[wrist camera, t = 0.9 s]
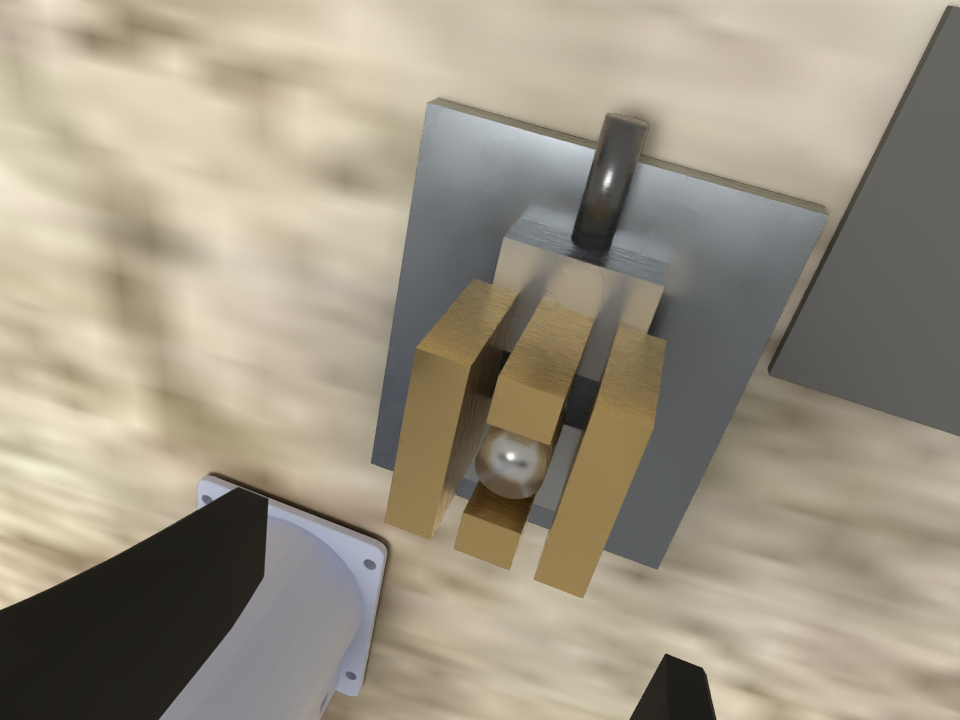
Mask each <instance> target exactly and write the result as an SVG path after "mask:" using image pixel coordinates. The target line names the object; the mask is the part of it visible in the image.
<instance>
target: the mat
mask: <svg viewBox="0 0 960 720" xmlns="http://www.w3.org/2000/svg"><path fill="white" fill-rule="evenodd" d="M768 371H769V375H770V376H773V377H776V378H779V379H782V380H786V381H789V382H792V383H795V384H798V385H801V386H804V387H807V388H811V389H814V390H817V391H820V392H823V393H826V394H829V395H832V396H836V397H839V398H842V399H845V400H848V401H851V402H854V403H857V404H860V405H864V406H867V407H870V408H873V409H876V410H879V411H882V412H885V413H889V414H892V415H895V416H898V417H901V418H904V419H907V420H910V421H914V422H917V423H920V424H923V425H926V426H929V427H932V428H935V429H939V430H942V431H945V432H948V433H951V434H954V435H957V436H960V8H958V7H953V6H947V8H946V10H945V12H944V14H943V16H942V18H941V20H940V23H939V25H938V27H937V29H936V31H935V33H934V35H933V37H932V39H931V41H930V43H929V45H928V47H927V49H926V51H925V53H924V55H923V57H922V59H921V61H920V63H919V65H918V67H917V69H916V71H915V73H914V75H913V77H912V79H911V81H910V83H909V85H908V87H907V89H906V91H905V93H904V95H903V97H902V99H901V101H900V103H899V105H898V107H897V109H896V111H895V113H894V115H893V117H892V119H891V121H890V123H889V125H888V127H887V129H886V131H885V133H884V135H883V137H882V140H881V142H880V144H879V146H878V148H877V150H876V152H875V154H874V156H873V158H872V160H871V162H870V164H869V166H868V168H867V170H866V172H865V174H864V176H863V178H862V180H861V182H860V184H859V186H858V188H857V190H856V192H855V194H854V196H853V198H852V200H851V202H850V204H849V206H848V208H847V210H846V212H845V214H844V216H843V218H842V220H841V222H840V224H839V226H838V228H837V230H836V232H835V234H834V236H833V238H832V240H831V242H830V244H829V246H828V248H827V250H826V252H825V254H824V257H823V259H822V261H821V263H820V265H819V267H818V269H817V271H816V273H815V275H814V277H813V279H812V281H811V283H810V285H809V287H808V289H807V291H806V293H805V295H804V297H803V299H802V301H801V303H800V305H799V307H798V309H797V311H796V313H795V315H794V317H793V319H792V321H791V323H790V325H789V327H788V329H787V331H786V333H785V335H784V337H783V339H782V341H781V343H780V345H779V347H778V349H777V351H776V353H775V355H774V357H773V359H772V361H771V363H770V365H769V367H768Z"/></svg>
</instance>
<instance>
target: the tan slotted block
mask: <svg viewBox="0 0 960 720" xmlns="http://www.w3.org/2000/svg"><path fill="white" fill-rule="evenodd" d="M518 294H519V293H517V292H514V291H511V290H508V289H504V288H501V287H498V286H495V285H492V284H489V283H486V282H483V281H479V280H476V279H473V280H472V282H471V283H470V284H469V285H468V286H467V288H466V289H465V290H464V291H463V292H462V294H461V295H460V296H459V297H458V298H457V299H456V301H455V302H454V303H453V304H452V305H451V307H450V308H449V309H448V310H447V311H446V313H445V314H444V315H443V316H442V317H441V318H440V320H439V321H438V322H437V323H436V324H435V326H434V327H433V328H432V329H431V330H430V332H429V333H428V334H427V335H426V336H425V338H424V339H423V340H422V341H421V342H420V343H419V345H418V346H417V347H416V349H415V355H414V360H413V366H412V372H411V377H410V383H409V388H408V394H407V400H406V405H405V411H404V416H403V422H402V428H401V433H400V439H399V444H398V450H397V456H396V461H395V467H394V472H393V478H392V484H391V489H390V495H389V500H388V506H387V512H386V517H385V523H388V524H391V525H393V526H396V527H398V528H401V529H404V530H406V531H409V532H411V533H414V534H417V535H419V536H422V537H424V538H427V539H430V540H431V538H432V536H433V534H434V532H435V530H436V529H437V527H438V525H439V523H440V521H441V519H442V517H443V515H444V513H445V511H446V509H447V507H448V506H449V504H450V502H451V500H452V498H453V496H454V494H455V492H456V490H457V488H458V486H459V485H460V483H461V481H462V479H463V477H464V475H465V473H466V471H467V469H468V467H469V465H470V464H471V462H472V460H473V458H474V456H475V454H476V452H477V450H478V448H479V446H480V442H481V438H482V434H483V430H484V426H485V423H488V424H490V425H493V426H496V427H499V428H502V429H505V430H507V431H510V432H513V433H516V434H519V435H522V436H524V437H527V438H530V439H533V440H536V441H539V442H541V443H544V444H547V445H550V443H551V441H552V438H553V435H554V433H555V430H556V427H557V425H558V422H559V419H560V416H561V414H562V411H563V408H564V406H565V403H566V400H567V398H568V395H569V392H570V390H571V387H572V384H573V382H574V379H575V376H576V373H577V371H578V368H579V365H580V363H581V360H582V357H583V354H584V351H585V348H586V345H587V342H588V339H589V336H590V333H591V330H592V327H593V324H594V321H595V317H592V316H589V315H586V314H583V313H579V312H576V311H573V310H570V309H567V308H564V307H561V306H558V305H554V304H551V303H548V302H545V301H542V300H541V302H540V304H539V306H538V307H537V309H536V311H535V313H534V314H533V316H532V318H531V320H530V321H529V323H528V325H527V327H526V328H525V330H524V332H523V334H522V335H521V337H520V339H519V341H518V342H517V344H516V346H515V348H514V349H513V351H512V353H511V355H510V356H509V358H508V360H507V362H506V363H505V365H504V367H503V369H502V370H501V372H500V374H499V376H498V372H499V368H500V364H501V360H502V356H503V352H504V348H505V345H506V341H507V337H508V333H509V329H510V325H511V321H512V317H513V313H514V309H515V306H516V302H517V298H518ZM666 343H667V340H664V339H661V338H658V337H655V336H651V335H648V334H645V333H642V332H639V331H636V330H633V329H630V328H626V327H623V326H620V325H619V327H618V329H617V332H616V335H615V338H614V341H613V344H612V347H611V350H610V352H609V355H608V358H607V361H606V364H605V367H604V370H603V372H602V375H601V378H600V381H599V384H598V387H597V390H596V392H595V395H594V398H593V401H592V404H591V407H590V410H589V412H588V415H587V418H586V421H585V424H584V427H583V430H582V433H581V435H580V438H579V441H578V444H577V447H576V450H575V453H574V455H573V458H572V461H571V464H570V467H569V470H568V473H567V475H566V478H565V482H564V485H563V488H562V491H561V494H560V497H559V501H558V504H557V507H556V510H555V513H554V516H553V520H552V523H551V526H550V529H549V532H548V535H547V539H546V542H545V545H544V548H543V551H542V554H541V558H540V561H539V564H538V567H537V570H536V574H535V577H534V580H536V581H539V582H541V583H544V584H547V585H549V586H552V587H554V588H557V589H560V590H562V591H565V592H567V593H570V594H573V595H575V596H578V597H580V598H583V597H584V595H585V592H586V590H587V587H588V585H589V583H590V580H591V578H592V575H593V573H594V571H595V568H596V566H597V563H598V561H599V559H600V556H601V554H602V551H603V549H604V547H605V544H606V542H607V539H608V537H609V535H610V532H611V530H612V527H613V525H614V522H615V520H616V518H617V515H618V513H619V510H620V508H621V506H622V503H623V501H624V498H625V496H626V494H627V491H628V489H629V486H630V484H631V482H632V479H633V477H634V474H635V472H636V470H637V467H638V465H639V462H640V460H641V458H642V455H643V453H644V450H645V448H646V446H647V443H648V441H649V438H650V436H651V434H652V431H653V429H654V422H655V415H656V409H657V402H658V396H659V389H660V383H661V376H662V369H663V363H664V356H665V350H666ZM497 376H498V379H497ZM496 380H497V383H496ZM495 384H496V387H495ZM494 387H495V391H494ZM493 391H494V395H493ZM492 395H493V399H492ZM491 399H492V403H491ZM490 403H491V407H490ZM489 407H490V410H489ZM488 411H489V414H488ZM487 415H488V418H487ZM486 419H487V422H486ZM537 492H538V491H537ZM537 492H536V493H535V494H533V495H531V496H529V497H526V498H522V499H510V498H505V497H502V496H500V495H497V494H495V493H494V492H492V491H490V490H489V489H488V488H487V487H486V486H485V485H484V484H483V483H482V482H481V481H480V479H479V481H478V483H477V485H476V487H475V489H474V491H473V494H472V496H471V498H470V500H469V502H468V504H467V506H466V508H465V510H464V512H463V515H462V519H461V523H460V527H459V531H458V535H457V539H456V543H455V547H454V549H456V550H458V551H461V552H463V553H466V554H469V555H471V556H474V557H476V558H479V559H482V560H484V561H487V562H489V563H492V564H495V565H497V566H500V567H502V568H505V569H508V570H510V567H511V564H512V562H513V559H514V556H515V553H516V551H517V548H518V545H519V542H520V539H521V537H522V534H523V531H524V528H525V526H526V523H527V520H528V517H529V515H530V512H531V509H532V506H533V504H534V501H535V498H536V495H537Z"/></svg>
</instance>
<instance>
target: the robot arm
mask: <svg viewBox="0 0 960 720" xmlns="http://www.w3.org/2000/svg"><path fill="white" fill-rule="evenodd" d="M197 497H198V510H197V511H195V512H193V513H191V514H190V515H188V516H186V517H184V518H183V519H181V520H179V521H178V522H176V523H174V524H172V525H171V526H169V527H167V528H165V529H164V530H162V531H160V532H158V533H156V534H155V535H153V536H151V537H149V538H147V539H145V540H144V541H142V542H140V543H138V544H136V545H134V546H133V547H131V548H129V549H127V550H125V551H123V552H122V553H120V554H118V555H116V556H114V557H112V558H110V559H108V560H107V561H104V562H102V563H100V564H98V565H96V566H94V567H92V568H90V569H88V570H86V571H84V572H82V573H80V574H78V575H76V576H74V577H72V578H70V579H68V580H66V581H64V582H62V583H60V584H58V585H56V586H54V587H52V588H50V589H47V590H45V591H43V592H41V593H39V594H36V595H34V596H32V597H30V598H28V599H25V600H23V601H21V602H18V603H16V604H14V605H11V606H9V607H7V608H4V609H2V610H0V720H320V718H321V717H322V715H323V713H324V711H325V709H326V707H327V706H328V704H329V702H330V700H331V698H332V696H333V695H334V693H335V691H338V692H340V693H343V694H345V695H347V696H351V697H355V696H357V695H358V694H359V693H360V691H361V689H362V686H363V681H364V676H365V670H366V665H367V660H368V654H369V649H370V644H371V638H372V633H373V628H374V622H375V617H376V612H377V606H378V601H379V596H380V590H381V585H382V580H383V574H384V569H385V564H386V558H387V549H386V547H385V545H384V544H383V543H382V542H380V541H378V540H376V539H373V538H371V537H368V536H366V535H363V534H361V533H358V532H355V531H353V530H350V529H348V528H345V527H343V526H340V525H337V524H335V523H332V522H330V521H327V520H325V519H322V518H319V517H317V516H314V515H312V514H309V513H307V512H304V511H301V510H299V509H296V508H294V507H291V506H289V505H286V504H284V503H281V502H278V501H276V500H273V499H271V498H268V497H266V496H263V495H260V494H258V493H255V492H253V491H250V490H248V489H245V488H242V487H240V486H237V485H235V484H232V483H230V482H227V481H224V480H222V479H219V478H217V477H214V476H210V475H208V476H205V477H204V478H202V479H201V480H200V481H199V482H198V485H197ZM371 560H372V561H373V562H372V561H371ZM630 720H716V716H715V711H714V707H713V703H712V698H711V694H710V689H709V685H708V680H707V675H706V673H705V671H704V670H703V668H701V667H699V666H696V665H694V664H691V663H689V662H686V661H683V660H681V659H678V658H676V657H673V656H671V655H668V654H665V655H664V657H663V659H662V661H661V662H660V664H659V666H658V668H657V670H656V672H655V674H654V675H653V677H652V679H651V681H650V683H649V685H648V686H647V688H646V690H645V692H644V694H643V696H642V698H641V699H640V701H639V703H638V705H637V707H636V709H635V710H634V712H633V714H632V716H631V718H630Z"/></svg>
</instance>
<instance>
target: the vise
mask: <svg viewBox="0 0 960 720" xmlns="http://www.w3.org/2000/svg"><path fill="white" fill-rule="evenodd" d="M648 129H649V124H648V123H646V122H644V121H642V120H640V119H637V118H634V117H630V116H626V115H622V114H615V113H608V114H606V116H605V120H604V123H603V127H602V130H601V134H600V137H599V141H598V143H596V142H593V141H589V140H585V139H582V138H578V137H575V136H571V135H568V134H564V133H560V132H557V131H553V130H550V129H546V128H543V127H539V126H535V125H532V124H528V123H525V122H521V121H517V120H514V119H510V118H507V117H503V116H500V115H496V114H492V113H489V112H485V111H482V110H478V109H475V108H471V107H467V106H464V105H460V104H457V103H453V102H450V101H446V100H442V99H439V98H437V99H435V100H432V101H430V102H427V106H426V112H425V119H424V125H423V131H422V138H421V144H420V151H419V157H418V164H417V170H416V177H415V183H414V189H413V196H412V202H411V209H410V215H409V222H408V228H407V235H406V241H405V247H404V254H403V260H402V267H401V273H400V280H399V286H398V293H397V299H396V305H395V312H394V318H393V325H392V331H391V338H390V344H389V351H388V357H387V363H386V370H385V376H384V383H383V389H382V396H381V402H380V409H379V415H378V422H377V428H376V434H375V441H374V447H373V454H372V460H371V463H372V464H375V465H377V466H380V467H383V468H385V469H388V470H391V471H393V472H394V467H395V461H396V456H397V450H398V444H399V439H400V433H401V428H402V422H403V416H404V411H405V405H406V400H407V394H408V388H409V383H410V377H411V372H412V366H413V360H414V355H415V349H416V347H417V346H418V345H419V343H420V342H421V341H422V340H423V339H424V338H425V336H426V335H427V334H428V333H429V332H430V330H431V329H432V328H433V327H434V326H435V324H436V323H437V322H438V321H439V320H440V318H441V317H442V316H443V315H444V314H445V313H446V311H447V310H448V309H449V308H450V307H451V305H452V304H453V303H454V302H455V301H456V299H457V298H458V297H459V296H460V295H461V294H462V292H463V291H464V290H465V289H466V288H467V286H468V285H469V284H470V283H471V282H472V280H473V279H476V280H479V281H483V282H486V283H489V284H492V285H495V286H498V287H501V288H504V289H508V290H511V291H514V292H517V293H519V294H518V298H517V302H516V306H515V309H514V313H513V317H512V321H511V325H510V329H509V333H508V337H507V341H506V345H505V348H504V352H503V356H502V360H501V364H500V368H499V372H498V376H499V374H500V372H501V370H502V369H503V367H504V365H505V363H506V362H507V360H508V358H509V356H510V355H511V353H512V351H513V349H514V348H515V346H516V344H517V342H518V341H519V339H520V337H521V335H522V334H523V332H524V330H525V328H526V327H527V325H528V323H529V321H530V320H531V318H532V316H533V314H534V313H535V311H536V309H537V307H538V306H539V304H540V302H541V300H542V301H545V302H548V303H551V304H554V305H558V306H561V307H564V308H567V309H570V310H573V311H576V312H579V313H583V314H586V315H589V316H592V317H595V321H594V324H593V327H592V330H591V333H590V336H589V339H588V342H587V345H586V348H585V351H584V354H583V357H582V360H581V363H580V365H579V368H578V371H577V373H576V376H575V379H574V382H573V384H572V387H571V390H570V392H569V395H568V398H567V400H566V403H565V406H564V408H563V411H562V414H561V416H560V419H559V422H558V425H557V427H556V430H555V433H554V435H553V438H552V441H551V443H550V445H547V444H544V443H541V442H539V441H536V440H533V439H530V438H527V437H524V436H522V435H519V434H516V433H513V432H510V431H507V430H505V429H502V428H499V427H496V426H493V425H490V424H488V423H485V426H484V430H483V434H482V438H481V442H480V446H479V448H478V450H477V452H476V454H475V456H474V458H473V460H472V462H471V464H470V465H469V467H468V469H467V471H466V473H465V475H464V477H463V479H462V481H461V483H460V485H459V486H458V488H457V490H456V492H455V495H458V496H461V497H463V498H466V499H469V500H470V498H471V496H472V494H473V491H474V489H475V487H476V485H477V483H478V481H479V479H480V481H481V482H482V483H483V484H484V485H485V486H486V487H487V488H488V489H489V490H490V491H492V492H494V493H495V494H497V495H500V496H502V497H505V498H510V499H522V498H526V497H529V496H531V495H533V494H535V493H536V492H537V491H538V492H537V495H536V498H535V501H534V504H533V506H532V509H531V512H530V515H529V517H528V520H527V521H528V522H530V523H533V524H536V525H539V526H541V527H544V528H547V529H550V526H551V523H552V520H553V516H554V513H555V510H556V507H557V504H558V501H559V497H560V494H561V491H562V488H563V485H564V482H565V478H566V475H567V473H568V470H569V467H570V464H571V461H572V458H573V455H574V453H575V450H576V447H577V444H578V441H579V438H580V435H581V433H582V430H583V427H584V424H585V421H586V418H587V415H588V412H589V410H590V407H591V404H592V401H593V398H594V395H595V392H596V390H597V387H598V384H599V381H600V378H601V375H602V372H603V370H604V367H605V364H606V361H607V358H608V355H609V352H610V350H611V347H612V344H613V341H614V338H615V335H616V332H617V329H618V327H619V325H620V326H623V327H626V328H630V329H633V330H636V331H639V332H642V333H645V334H648V335H651V336H655V337H658V338H661V339H664V340H667V343H666V350H665V356H664V363H663V369H662V376H661V383H660V389H659V396H658V402H657V409H656V415H655V422H654V429H653V431H652V434H651V436H650V438H649V441H648V443H647V446H646V448H645V450H644V453H643V455H642V458H641V460H640V462H639V465H638V467H637V470H636V472H635V474H634V477H633V479H632V482H631V484H630V486H629V489H628V491H627V494H626V496H625V498H624V501H623V503H622V506H621V508H620V510H619V513H618V515H617V518H616V520H615V522H614V525H613V527H612V530H611V532H610V535H609V537H608V539H607V542H606V544H605V547H604V549H603V550H606V551H608V552H611V553H614V554H617V555H619V556H622V557H625V558H627V559H630V560H633V561H635V562H638V563H641V564H643V565H646V566H649V567H652V568H654V569H658V567H659V565H660V563H661V561H662V559H663V557H664V555H665V553H666V551H667V549H668V547H669V544H670V542H671V540H672V538H673V536H674V534H675V532H676V530H677V528H678V526H679V524H680V522H681V520H682V518H683V516H684V513H685V511H686V509H687V507H688V505H689V503H690V501H691V499H692V497H693V495H694V493H695V491H696V489H697V487H698V484H699V482H700V480H701V478H702V476H703V474H704V472H705V470H706V468H707V466H708V464H709V462H710V460H711V458H712V456H713V453H714V451H715V449H716V447H717V445H718V443H719V441H720V439H721V437H722V435H723V433H724V431H725V429H726V427H727V425H728V422H729V420H730V418H731V416H732V414H733V412H734V410H735V408H736V406H737V404H738V402H739V400H740V398H741V396H742V394H743V391H744V389H745V387H746V385H747V383H748V381H749V379H750V377H751V375H752V373H753V371H754V369H755V367H756V365H757V363H758V360H759V358H760V356H761V354H762V352H763V350H764V348H765V346H766V344H767V342H768V340H769V338H770V336H771V334H772V332H773V329H774V327H775V325H776V323H777V321H778V319H779V317H780V315H781V313H782V311H783V309H784V307H785V305H786V303H787V301H788V298H789V296H790V294H791V292H792V290H793V288H794V286H795V284H796V282H797V280H798V278H799V276H800V274H801V272H802V270H803V267H804V265H805V263H806V261H807V259H808V257H809V255H810V253H811V251H812V249H813V247H814V245H815V243H816V241H817V239H818V236H819V234H820V232H821V230H822V228H823V226H824V224H825V222H826V220H827V218H828V216H829V215H828V213H827V211H826V209H825V207H824V206H821V205H818V204H814V203H810V202H807V201H803V200H800V199H796V198H793V197H789V196H785V195H782V194H778V193H775V192H771V191H768V190H764V189H760V188H757V187H753V186H750V185H746V184H743V183H739V182H735V181H732V180H728V179H725V178H721V177H718V176H714V175H710V174H707V173H703V172H700V171H696V170H693V169H689V168H685V167H682V166H678V165H675V164H671V163H668V162H664V161H660V160H657V159H653V158H650V157H646V156H643V155H640V154H641V150H642V147H643V144H644V141H645V138H646V135H647V132H648ZM498 376H497V379H498ZM496 383H497V380H496ZM495 387H496V384H495ZM495 387H494V391H495ZM494 391H493V395H494ZM493 395H492V399H493ZM492 399H491V403H492ZM491 403H490V407H491ZM490 407H489V410H490ZM488 414H489V411H488ZM487 418H488V415H487ZM486 422H487V419H486Z"/></svg>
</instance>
